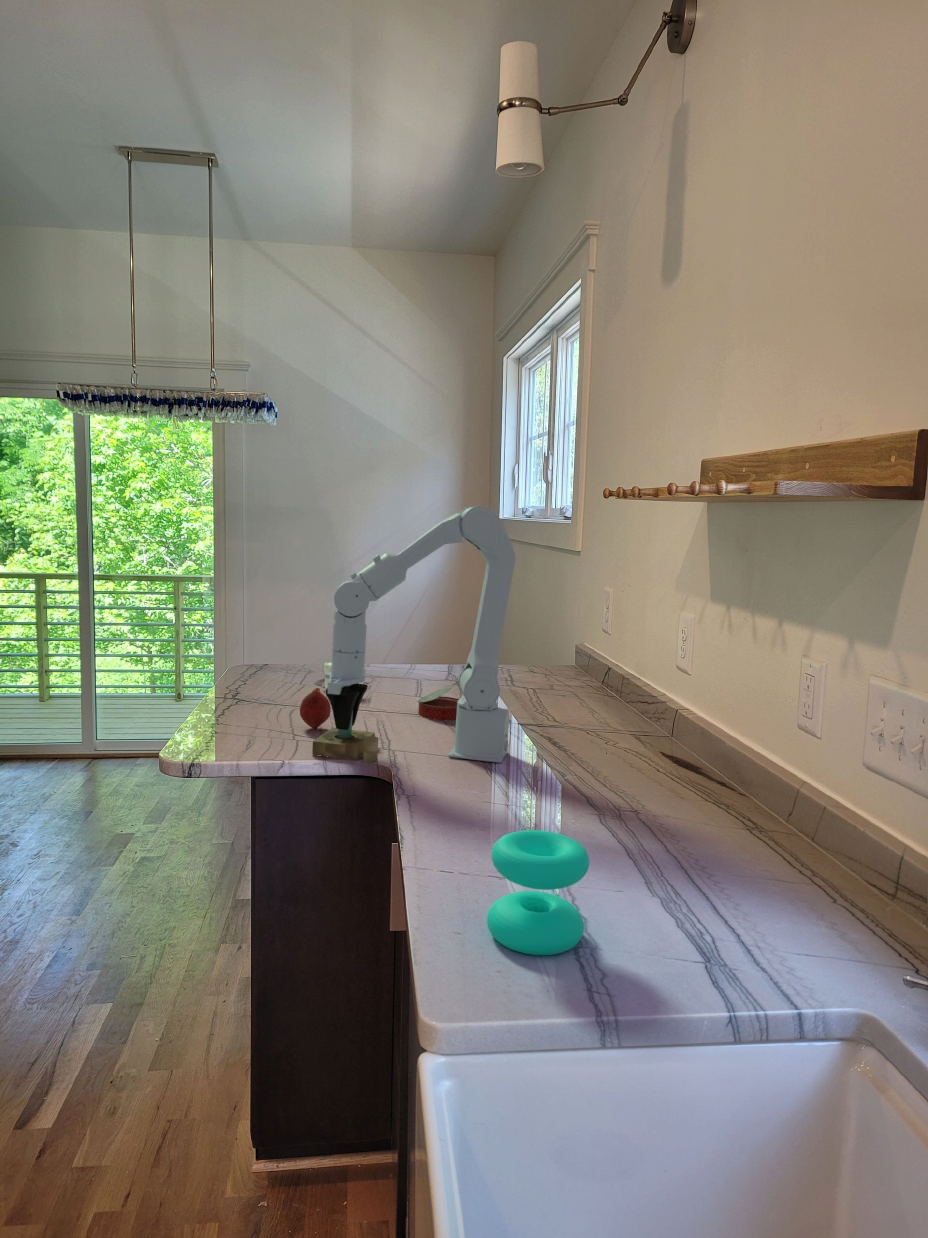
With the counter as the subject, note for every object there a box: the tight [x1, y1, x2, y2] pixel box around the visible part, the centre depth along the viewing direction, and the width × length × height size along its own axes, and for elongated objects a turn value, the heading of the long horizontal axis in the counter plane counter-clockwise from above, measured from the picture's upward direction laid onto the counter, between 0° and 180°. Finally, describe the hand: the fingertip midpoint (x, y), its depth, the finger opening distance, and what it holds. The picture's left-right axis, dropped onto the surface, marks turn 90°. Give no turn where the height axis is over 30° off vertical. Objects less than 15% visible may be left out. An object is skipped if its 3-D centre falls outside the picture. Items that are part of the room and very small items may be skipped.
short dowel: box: [362, 735, 379, 764], centre depth 148 cm, size 2×2×4 cm
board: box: [311, 727, 376, 762], centre depth 153 cm, size 8×10×2 cm
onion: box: [299, 686, 332, 729], centre depth 167 cm, size 6×6×8 cm
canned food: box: [418, 681, 460, 721], centre depth 184 cm, size 11×10×10 cm
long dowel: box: [338, 711, 353, 738], centre depth 153 cm, size 2×2×6 cm
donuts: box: [486, 829, 590, 956], centre depth 90 cm, size 10×10×10 cm
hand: (345, 727), depth 153 cm, fingers closed on long dowel, 2 cm apart
